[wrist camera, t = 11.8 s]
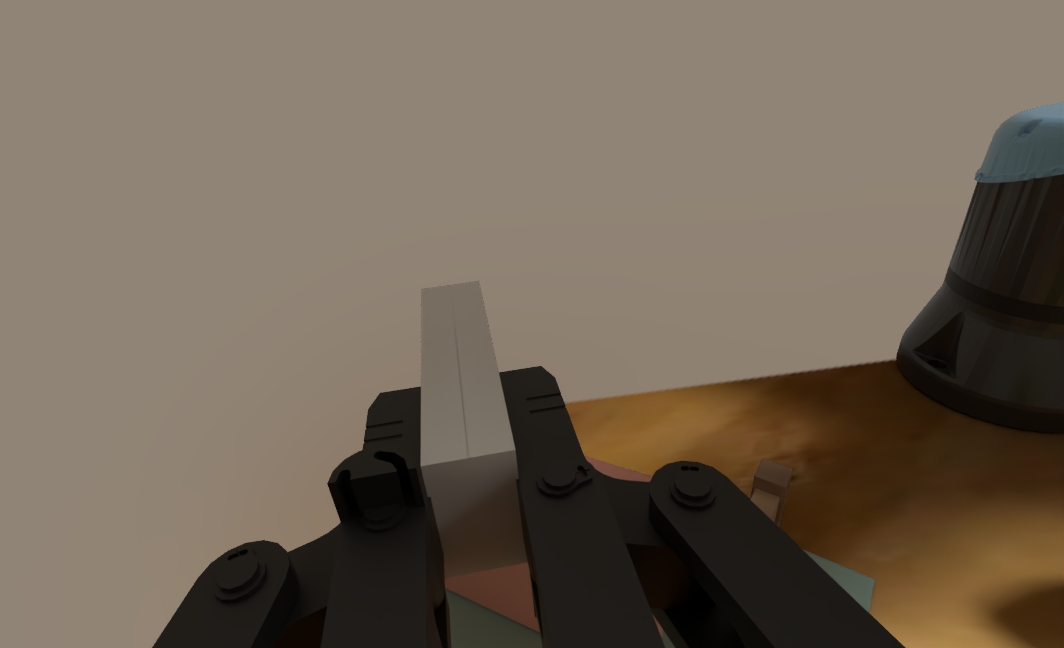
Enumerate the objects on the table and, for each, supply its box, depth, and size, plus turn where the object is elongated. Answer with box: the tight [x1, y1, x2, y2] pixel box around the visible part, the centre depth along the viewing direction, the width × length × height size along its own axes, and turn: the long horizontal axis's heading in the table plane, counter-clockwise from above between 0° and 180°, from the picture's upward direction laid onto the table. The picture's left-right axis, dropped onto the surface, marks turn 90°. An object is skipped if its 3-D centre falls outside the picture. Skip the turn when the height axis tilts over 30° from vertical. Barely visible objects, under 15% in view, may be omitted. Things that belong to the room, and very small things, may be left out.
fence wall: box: [750, 459, 793, 528], centre depth 31 cm, size 14×2×6 cm, turn 145°
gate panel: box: [444, 456, 663, 638], centre depth 29 cm, size 14×1×13 cm, turn 62°
